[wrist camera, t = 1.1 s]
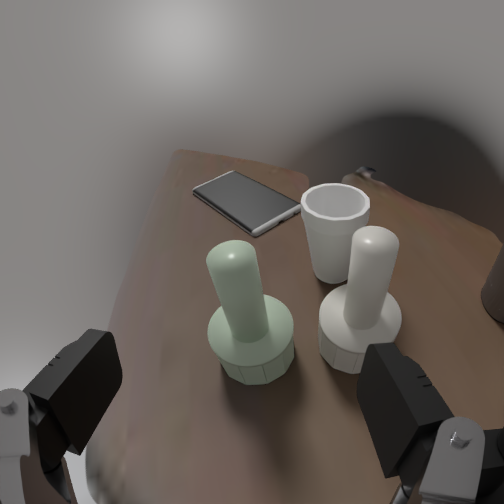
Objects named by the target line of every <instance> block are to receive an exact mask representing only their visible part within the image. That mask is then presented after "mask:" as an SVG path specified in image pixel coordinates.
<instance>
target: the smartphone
mask: <svg viewBox="0 0 504 504" xmlns="http://www.w3.org/2000/svg"><path fill="white" fill-rule="evenodd" d="M192 191H193V194H195V195H196V196H197V197H199V198H200V199H202V200H203V201H204V202H206V203H207V204H208V205H210V206H211V207H213V208H214V209H215V210H217V211H218V212H220V213H221V214H222V215H224V216H225V217H227V218H228V219H229V220H231V221H232V222H234V223H235V224H236V225H238V226H239V227H241V228H242V229H243V230H245V231H246V232H248V233H249V234H250V235H252V236H259V235H260V234H262V233H264V232H265V231H267V230H269V229H271V228H272V227H274V226H276V225H277V224H278V222H279V221H281V220H283V221H284V220H286V219H288V218H290V217H291V216H293V215H294V213H295V214H296V213H298V212H300V211H301V204H300V203H298V202H296V201H294V200H292V199H290V198H288V197H287V196H285V195H283V194H281V193H279V192H277V191H275V190H273V189H271V188H269V187H267V186H265V185H263V184H261V183H259V182H257V181H255V180H253V179H250V178H248V177H246V176H244V175H242V174H240V173H238V172H236V171H230V172H228V173H226V174H224V175H221V176H219V177H217V178H215V179H213V180H210V181H208V182H206V183H204V184H202V185H200V186H198V187H196V188H194V189H193V190H192Z"/></svg>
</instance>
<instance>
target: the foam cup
mask: <svg viewBox="0 0 504 504" xmlns="http://www.w3.org/2000/svg"><path fill="white" fill-rule="evenodd" d="M369 211H370V201H369V198H368V197H367V195H366V194H365V193H364V192H363V191H361V190H359V189H357V188H355V187H353V186H350V185H344V184H338V183H334V184H322V185H319V186H315V187H312V188H310V189H309V190H308V191H306V192H305V193H304V194H303V196H302V199H301V217H302V218H303V220H304V224H305V229H306V234H307V239H308V244H309V249H310V255H311V260H312V265H313V269H314V273H315V275H316V277H317V278H319V279H320V280H321V281H323V282H326V283H330V284H335V283H341V282H343V281H345V280H347V279H348V274H349V266H350V257H351V248H352V237H353V234H354V233H355V232H356V231H357V230H358V229H360V228H362V227H366V224H367V223H368V220H369Z"/></svg>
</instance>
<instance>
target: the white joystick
mask: <svg viewBox="0 0 504 504" xmlns="http://www.w3.org/2000/svg"><path fill="white" fill-rule="evenodd" d="M398 248H399V241H398V238H397V237H396V236H395V234H394V233H392V232H391V231H389V230H388V229H385V228H383V227H379V226H366V227H362V228H360V229H358V230H357V231H356V232H355V233H354V234H353V237H352V248H351V257H350V266H349V274H348V282H347V284H345V285H342V286H339V287H337V288H336V289H334V290H332V291H331V292H330V293H329V294H328V295H327V296H326V297H325V298H324V300H323V302H322V304H321V307H320V312H319V327H318V342H319V349H320V354H321V356H322V357H323V358H324V359H325V360H326V361H327V362H328V363H329V365H330V366H331V367H332V368H334V369H337V370H340V371H343V372H346V373H349V374H357V373H360V372H361V368H362V364H363V361H364V357H365V353H366V349H367V347H368V345H369V344H375V343H388V342H394V340H395V338H396V336H397V334H398V332H399V329H400V326H401V321H402V316H401V311H400V308H399V305H398V303H397V302H396V300H395V299H394V298H393V297H392V296H391V295H390V294H389V293H388V292H387V291H388V287H389V284H390V280H391V276H392V273H393V269H394V265H395V261H396V257H397V253H398Z"/></svg>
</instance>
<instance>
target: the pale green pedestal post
mask: <svg viewBox="0 0 504 504" xmlns="http://www.w3.org/2000/svg"><path fill="white" fill-rule="evenodd" d="M206 263H207V266H208V269H209V272H210V275H211V278H212V281H213V283H214V286H215V289H216V292H217V295H218V297H219V300H220V303H221V307H220V308H218V310H217V311H216V312H215V313H214V315H213V316H212V318H211V320H210V322H209V326H208V340H209V343H210V345H211V347H212V349H213V351H214V352H215V354H216V355H217V357H218V359H219V361H220V363H221V364H222V366H223V368H224V369H225V371H226V373H227V374H228V376H229V377H231V378H233V379H235V380H237V381H239V382H241V383H243V384H245V385H246V384H247V385H259V384H267V383H270V382H272V381H273V380H275V379H277V378H278V377H280V376H282V375H283V374H285V373H286V371H287V369H288V368H289V366H290V364H291V362H292V360H293V359H294V342H293V331H294V326H293V318H292V316H291V313H290V311H289V310H288V308H287V307H286V306H285V305H284V304H283V303H282V302H280V301H279V300H277V299H276V298H273V297H271V296H268V295H263V290H262V285H261V279H260V274H259V268H258V263H257V258H256V252H255V249H254V247H253V246H252V245H251V244H249V243H247V242H245V241H240V240H232V241H227V242H224V243H221V244H219V245H217V246H216V247H214V248H213V249H212V250H211V251H210V252H209V254H208V256H207V259H206Z"/></svg>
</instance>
